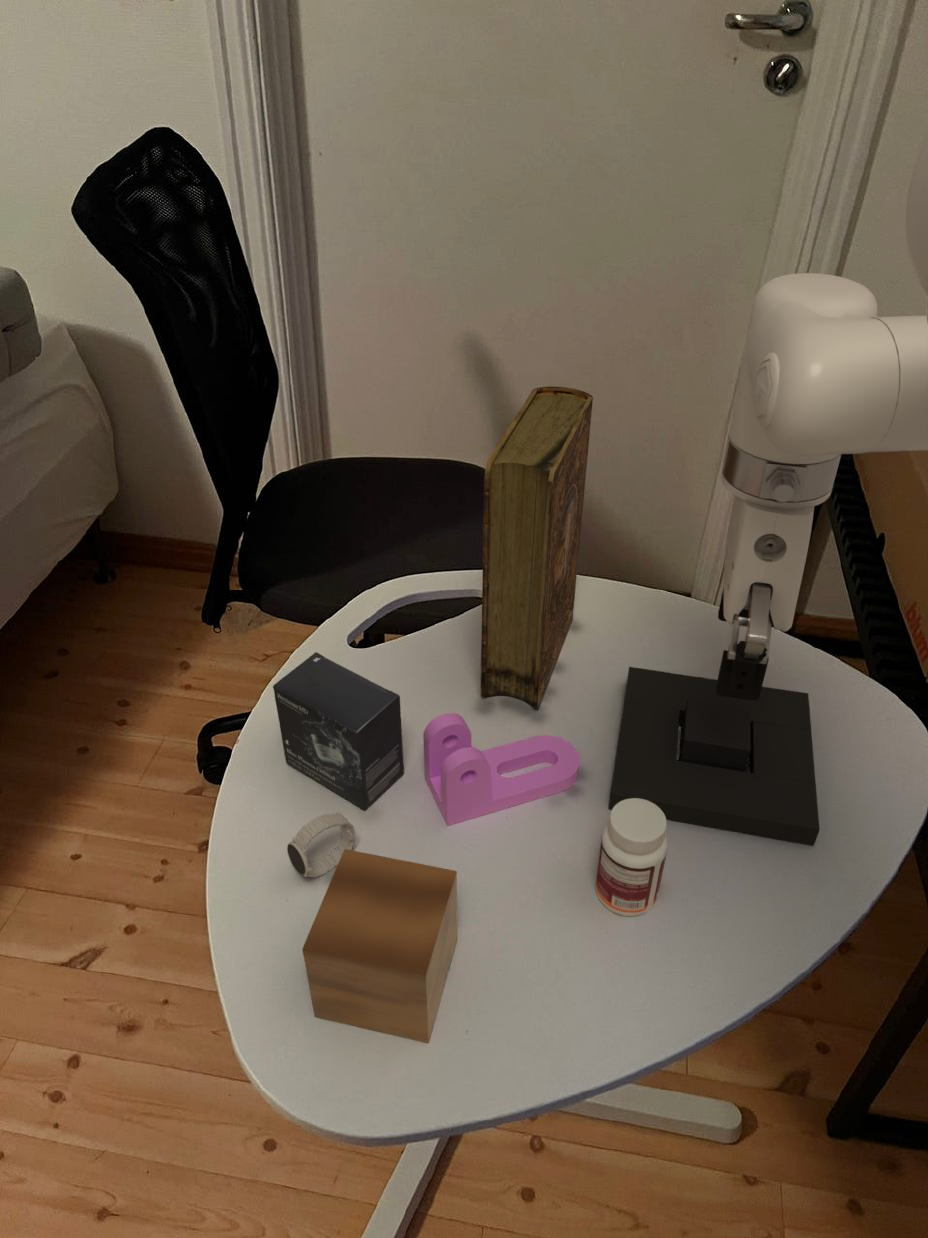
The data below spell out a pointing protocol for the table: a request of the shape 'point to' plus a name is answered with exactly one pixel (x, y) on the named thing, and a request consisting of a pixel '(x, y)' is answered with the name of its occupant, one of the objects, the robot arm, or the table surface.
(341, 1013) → the wooden block
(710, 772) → the base pad
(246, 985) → the table surface
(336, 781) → the box
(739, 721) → the pad
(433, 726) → the bracket
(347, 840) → the wristwatch
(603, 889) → the pill bottle
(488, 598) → the book
